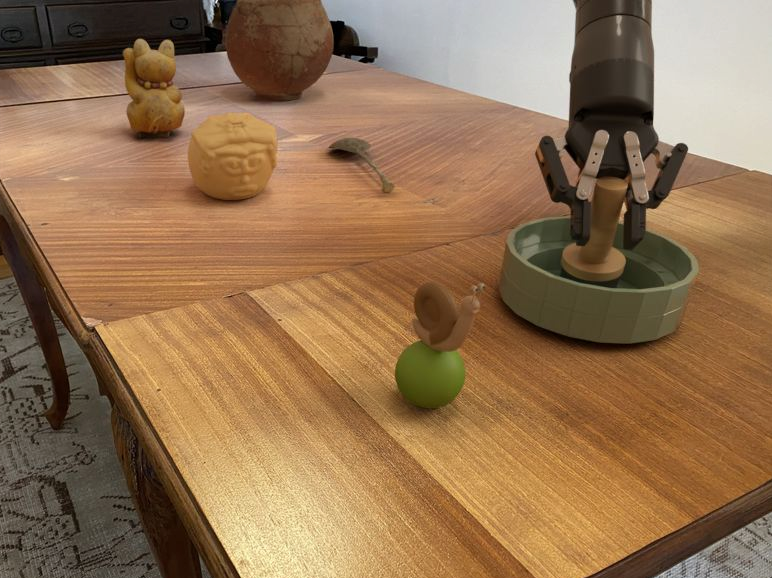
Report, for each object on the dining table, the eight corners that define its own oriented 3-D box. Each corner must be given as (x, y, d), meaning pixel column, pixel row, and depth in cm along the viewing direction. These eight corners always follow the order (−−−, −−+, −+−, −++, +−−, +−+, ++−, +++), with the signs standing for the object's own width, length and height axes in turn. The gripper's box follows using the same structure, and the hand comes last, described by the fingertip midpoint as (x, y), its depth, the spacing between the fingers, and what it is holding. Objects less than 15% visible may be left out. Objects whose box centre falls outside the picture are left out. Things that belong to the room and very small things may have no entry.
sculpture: (204, 212, 90) (198, 127, 85) (182, 183, 100) (175, 105, 94) (287, 201, 94) (287, 119, 88) (258, 174, 103) (256, 98, 98)
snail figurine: (432, 438, 53) (451, 296, 46) (378, 395, 57) (389, 260, 51) (483, 414, 55) (509, 276, 49) (428, 375, 60) (445, 244, 53)
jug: (234, 83, 155) (228, -76, 139) (332, 85, 155) (337, -74, 139) (220, 107, 137) (211, -73, 121) (331, 110, 136) (337, -71, 120)
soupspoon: (362, 150, 116) (324, 154, 115) (362, 129, 114) (323, 134, 113) (410, 190, 98) (365, 196, 97) (411, 166, 96) (365, 172, 95)
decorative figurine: (183, 126, 125) (176, 35, 117) (189, 139, 118) (182, 43, 110) (128, 130, 123) (116, 37, 115) (130, 143, 116) (119, 45, 108)
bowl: (643, 270, 77) (658, 219, 74) (709, 354, 63) (731, 295, 60) (485, 264, 78) (494, 213, 75) (514, 346, 64) (526, 287, 61)
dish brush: (613, 267, 74) (639, 169, 67) (624, 300, 70) (653, 198, 63) (554, 264, 75) (573, 168, 68) (561, 297, 71) (583, 197, 64)
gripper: (545, 52, 66) (537, 223, 62) (705, 58, 64) (706, 235, 60) (528, 98, 73) (520, 254, 69) (671, 104, 71) (671, 264, 68)
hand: (607, 244), depth 65 cm, fingers open, 3 cm apart
